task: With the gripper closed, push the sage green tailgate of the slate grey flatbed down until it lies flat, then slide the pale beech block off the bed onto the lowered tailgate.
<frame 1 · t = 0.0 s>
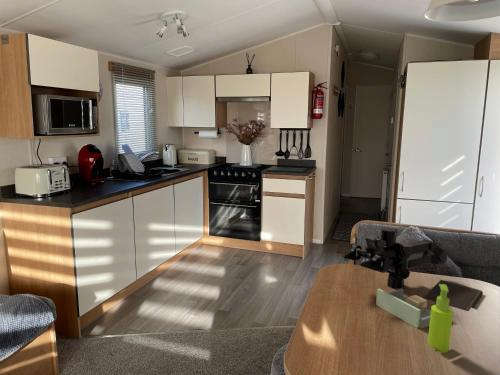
hand: (351, 260, 144), 17 cm above the table, tool horizontal, fingers open, 9 cm apart
tailgate: (396, 308, 133), point 4 cm above the table, hinge at 0.0°
hardcover book: (453, 299, 151), on the table
soap dispenser: (437, 348, 117), on the table
flatbed: (410, 314, 137), on the table
beech block: (415, 309, 138), point 1 cm above the table, touching flatbed
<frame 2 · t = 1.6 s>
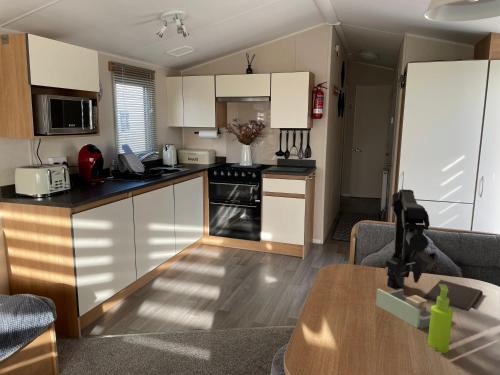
hand: (408, 284, 134), 12 cm above the table, tool pointing down, fingers open, 8 cm apart
nothing on the table moved.
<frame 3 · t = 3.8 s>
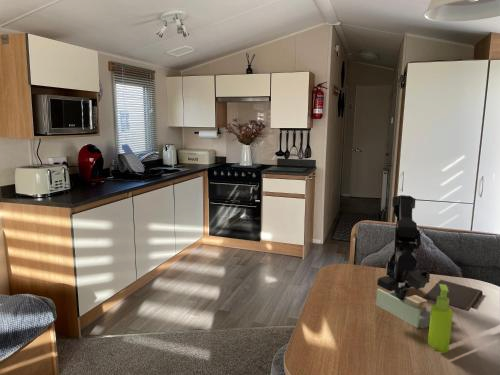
hand: (400, 302, 133), 6 cm above the table, tool pointing down, fingers closed
tailgate: (396, 308, 133), point 4 cm above the table, hinge at 0.0°, touching gripper
everything else where it was.
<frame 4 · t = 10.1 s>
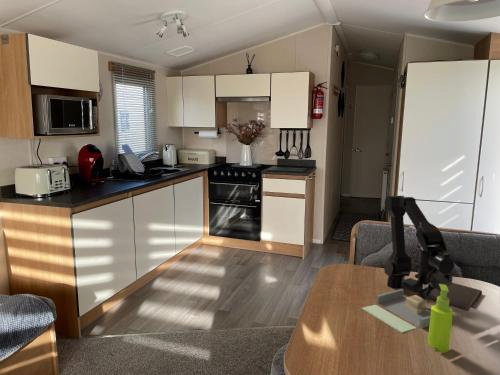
hand: (423, 303, 140), 3 cm above the table, tool pointing down, fingers closed
tailgate: (387, 318, 132), point 1 cm above the table, hinge at 87.0°
beech block: (415, 309, 138), point 2 cm above the table, touching flatbed, gripper
everything else where it was.
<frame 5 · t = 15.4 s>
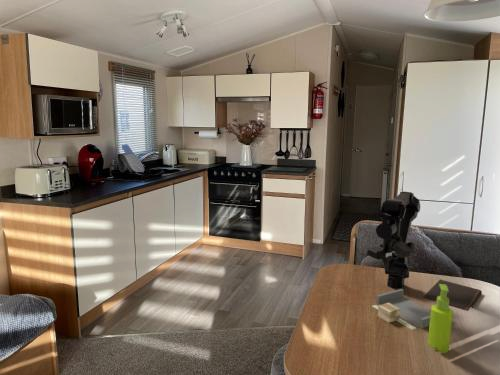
hand: (388, 271, 146), 12 cm above the table, tool pointing down, fingers closed
tailgate: (387, 319, 132), point 1 cm above the table, hinge at 91.3°, touching beech block
beech block: (388, 317, 132), point 1 cm above the table, touching tailgate
everything else where it was.
at the end: tailgate at +91° (first picture: +0°); beech block inside the target area (0.7 cm from its centre), point 1.4 cm above the table; beech block tilted 1° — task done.
